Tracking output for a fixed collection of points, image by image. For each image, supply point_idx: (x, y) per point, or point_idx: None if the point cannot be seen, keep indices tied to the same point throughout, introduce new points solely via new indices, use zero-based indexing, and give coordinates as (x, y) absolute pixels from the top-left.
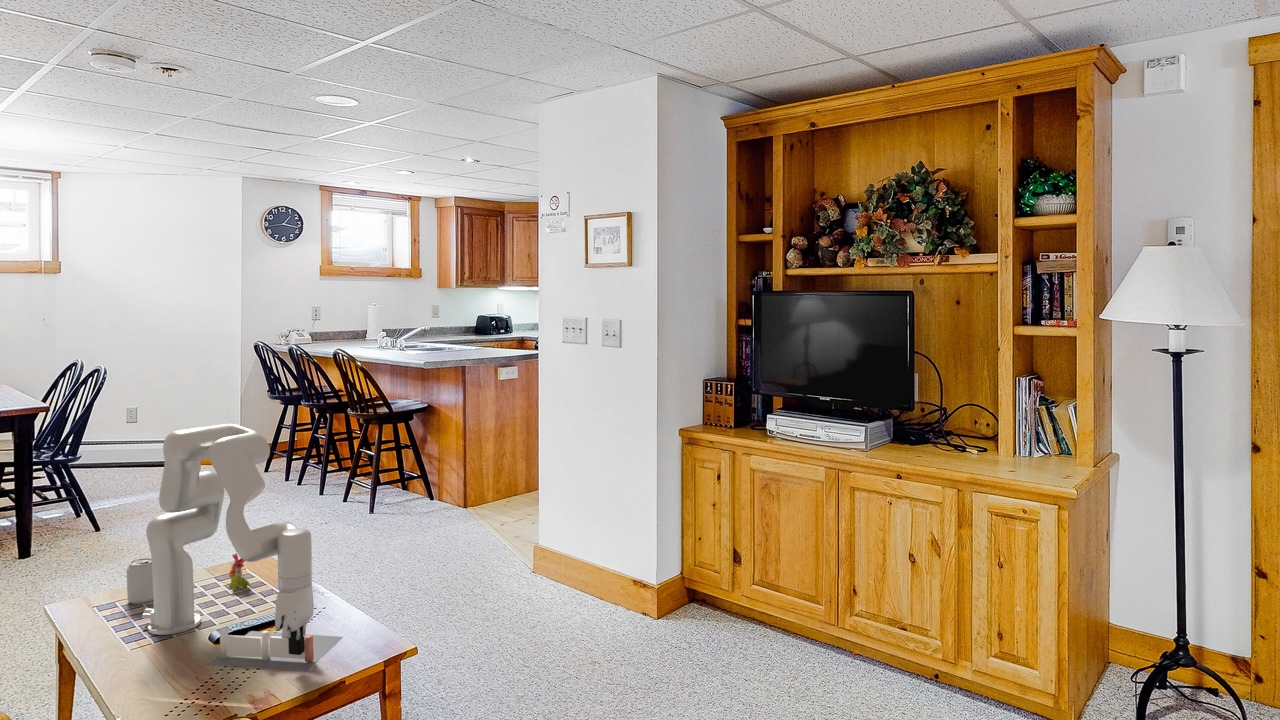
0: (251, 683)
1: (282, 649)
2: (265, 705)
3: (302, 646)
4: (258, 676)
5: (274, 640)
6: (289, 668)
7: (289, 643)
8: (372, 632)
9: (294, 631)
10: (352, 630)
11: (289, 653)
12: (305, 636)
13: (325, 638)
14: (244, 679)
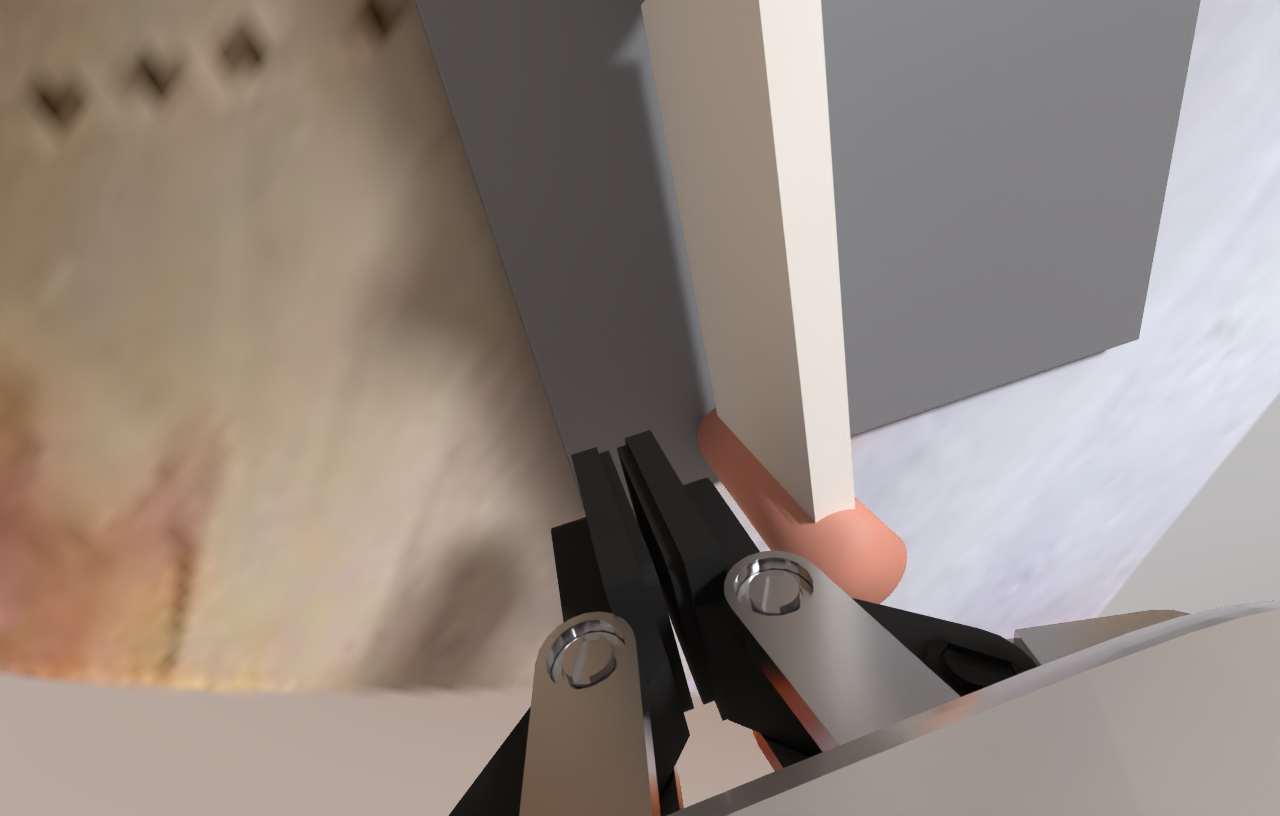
0: (173, 209)
1: (705, 187)
2: (18, 645)
3: (668, 612)
4: (329, 154)
5: (736, 24)
6: (570, 366)
7: (593, 545)
8: (1200, 436)
9: (758, 662)
10: (1247, 290)
11: (574, 458)
12: (860, 532)
13: (1117, 224)
14: (174, 39)
